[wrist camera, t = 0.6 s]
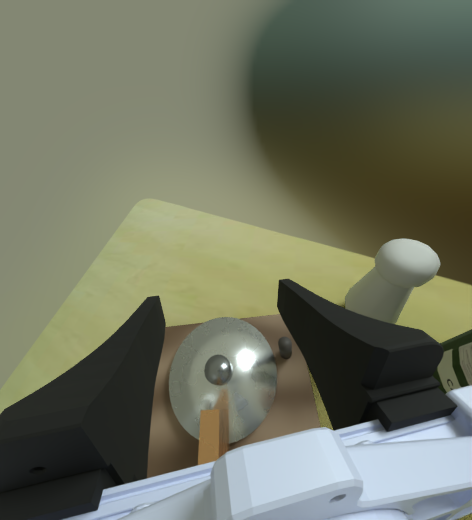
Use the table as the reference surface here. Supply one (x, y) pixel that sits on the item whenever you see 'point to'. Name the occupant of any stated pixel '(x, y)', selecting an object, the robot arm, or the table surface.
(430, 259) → the salt shaker
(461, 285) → the table surface
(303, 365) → the walnut board
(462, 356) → the wine bottle
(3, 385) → the table surface
